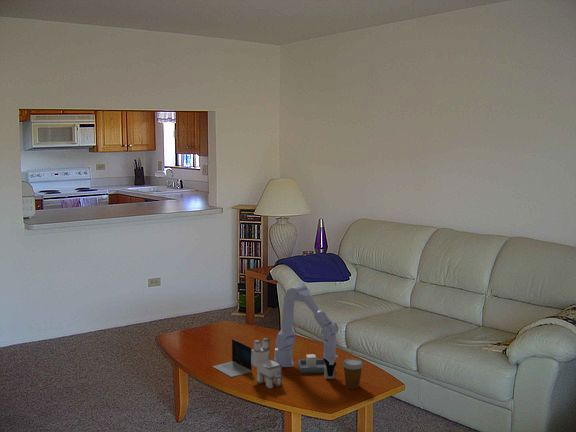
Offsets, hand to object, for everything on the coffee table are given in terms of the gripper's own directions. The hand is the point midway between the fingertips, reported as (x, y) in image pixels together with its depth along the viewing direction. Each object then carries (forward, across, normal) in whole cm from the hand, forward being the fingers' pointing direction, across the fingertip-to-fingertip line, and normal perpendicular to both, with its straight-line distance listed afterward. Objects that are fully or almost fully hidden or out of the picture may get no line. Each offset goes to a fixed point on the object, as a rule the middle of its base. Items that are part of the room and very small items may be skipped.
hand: (329, 374), depth 323 cm
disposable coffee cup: (+2, -12, -10) cm, 15 cm away
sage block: (+1, 0, 0) cm, 1 cm away
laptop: (+2, +14, +48) cm, 50 cm away
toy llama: (+2, -4, +30) cm, 31 cm away
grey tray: (+2, +12, +6) cm, 13 cm away
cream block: (+1, +12, +8) cm, 14 cm away
